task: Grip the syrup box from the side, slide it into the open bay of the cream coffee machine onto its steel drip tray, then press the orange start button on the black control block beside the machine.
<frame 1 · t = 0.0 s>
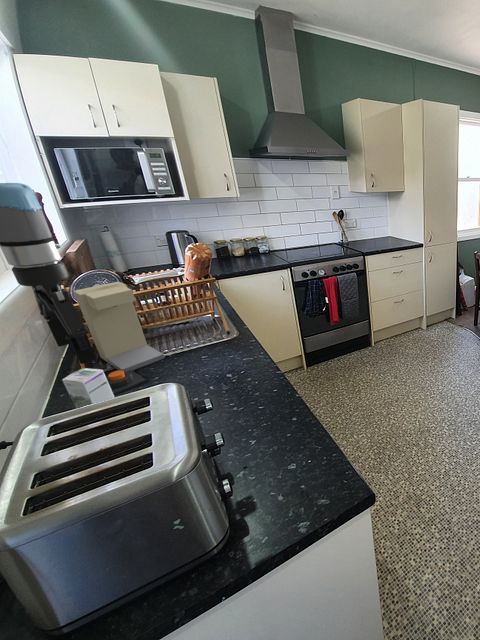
hand: (76, 352, 80), 23 cm above the counter, tool pointing down, fingers open, 13 cm apart
start button: (116, 375, 106), point 3 cm above the counter, slide at 0.1 cm
control block: (120, 385, 107), on the counter
coffee machine: (133, 358, 121), on the counter
syrup box: (103, 419, 94), on the counter
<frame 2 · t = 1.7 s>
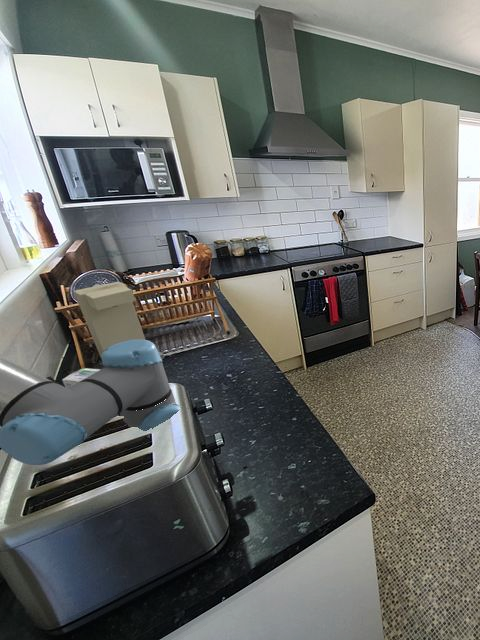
hand: (90, 368, 81), 20 cm above the counter, tool horizontal, fingers open, 13 cm apart
nothing on the counter moved.
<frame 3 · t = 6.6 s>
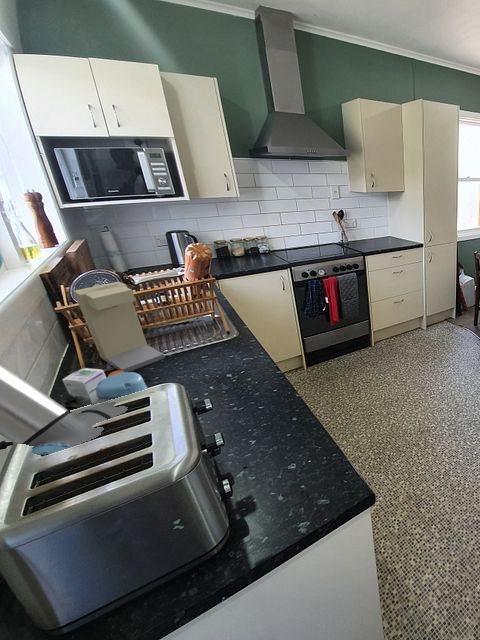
hand: (84, 388, 92), 8 cm above the counter, tool horizontal, fingers closed on syrup box, 7 cm apart
syrup box: (103, 419, 94), on the counter, touching gripper
everything else where it was.
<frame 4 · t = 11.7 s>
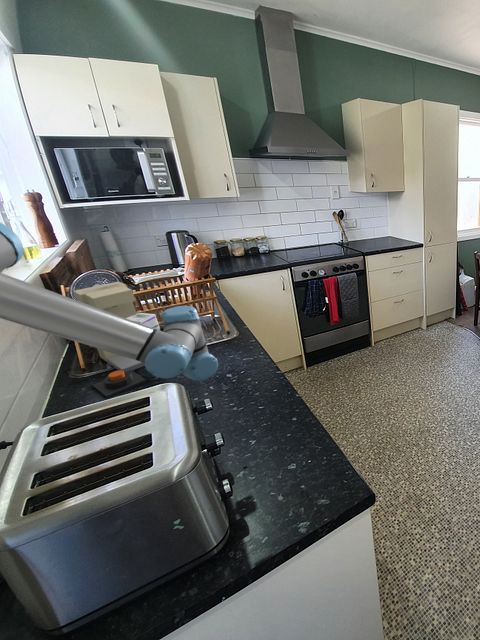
hand: (138, 331, 108), 15 cm above the counter, tool horizontal, fingers closed on syrup box, 7 cm apart
syrup box: (154, 358, 109), point 7 cm above the counter, touching gripper
everything else where it was.
when the fingers open (10 cm above the counter, at t = 17.2 s): syrup box stays where it is, resting on coffee machine.
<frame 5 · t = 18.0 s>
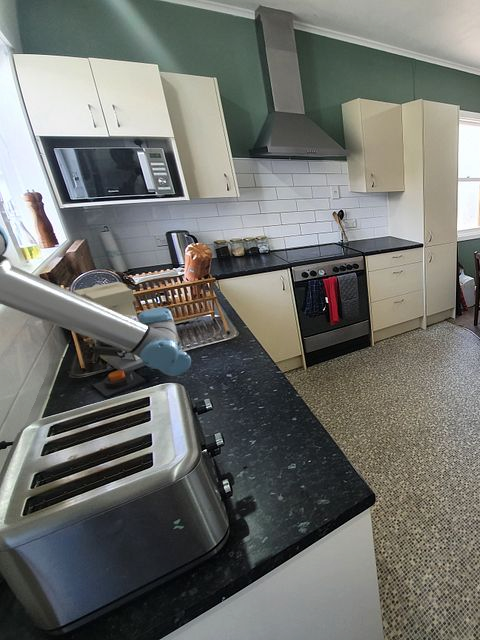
hand: (122, 332, 117), 10 cm above the counter, tool horizontal, fingers open, 13 cm apart
syrup box: (135, 356, 119), point 2 cm above the counter, touching coffee machine
everything else where it was.
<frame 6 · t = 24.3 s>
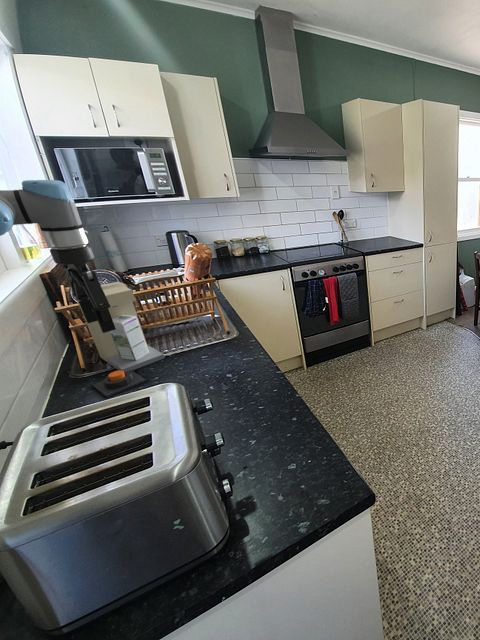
hand: (101, 326, 96), 22 cm above the counter, tool pointing down, fingers open, 10 cm apart
nothing on the counter moved.
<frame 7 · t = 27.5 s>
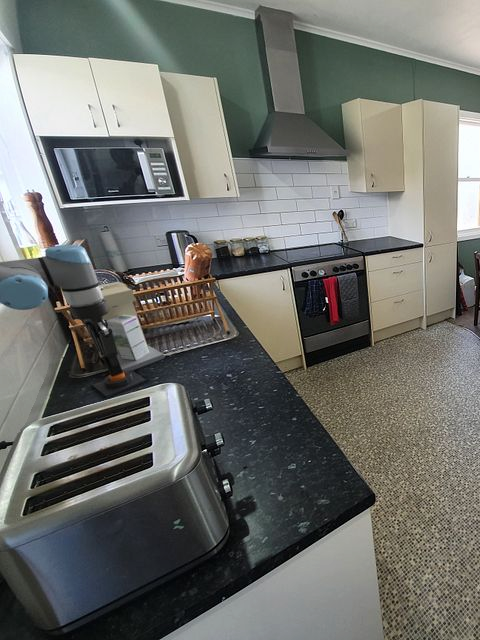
hand: (116, 373, 105), 4 cm above the counter, tool pointing down, fingers closed
start button: (117, 376, 106), point 3 cm above the counter, slide at -0.3 cm, touching gripper
everything else where it was.
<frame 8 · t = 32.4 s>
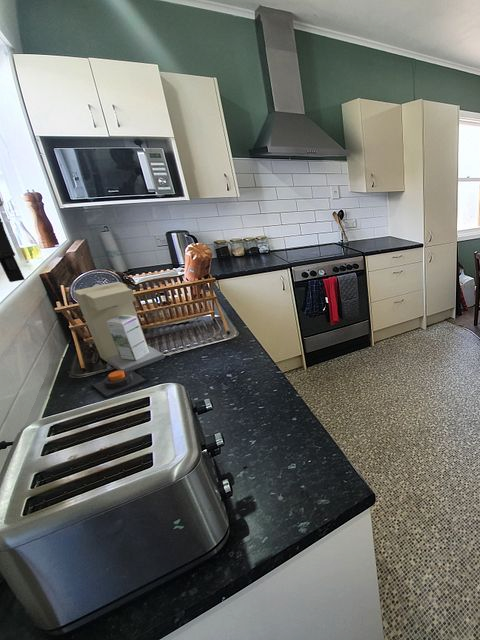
hand: (17, 280, 96), 32 cm above the counter, tool pointing down, fingers closed
start button: (116, 375, 106), point 3 cm above the counter, slide at 0.1 cm
everything else where it was.
at the end: syrup box 0.0 cm from the target spot on the coffee machine, point 1.8 cm above the coffee machine's base; syrup box tilted 0°; start button pushed in 1.0 cm at the most during the clip, back to where it started at the end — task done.
